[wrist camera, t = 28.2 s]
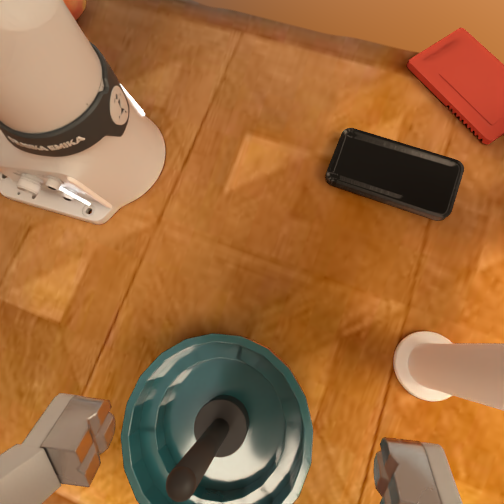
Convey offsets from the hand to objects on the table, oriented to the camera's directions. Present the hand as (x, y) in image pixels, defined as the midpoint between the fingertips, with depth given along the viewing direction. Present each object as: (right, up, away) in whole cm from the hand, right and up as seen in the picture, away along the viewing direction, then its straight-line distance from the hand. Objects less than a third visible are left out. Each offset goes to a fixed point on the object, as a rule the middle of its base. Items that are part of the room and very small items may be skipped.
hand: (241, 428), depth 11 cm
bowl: (-3, -13, +28) cm, 30 cm away
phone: (+17, +15, +33) cm, 40 cm away
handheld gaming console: (+33, +21, +33) cm, 51 cm away
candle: (+19, -7, +28) cm, 34 cm away
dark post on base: (-3, -13, +27) cm, 30 cm away
